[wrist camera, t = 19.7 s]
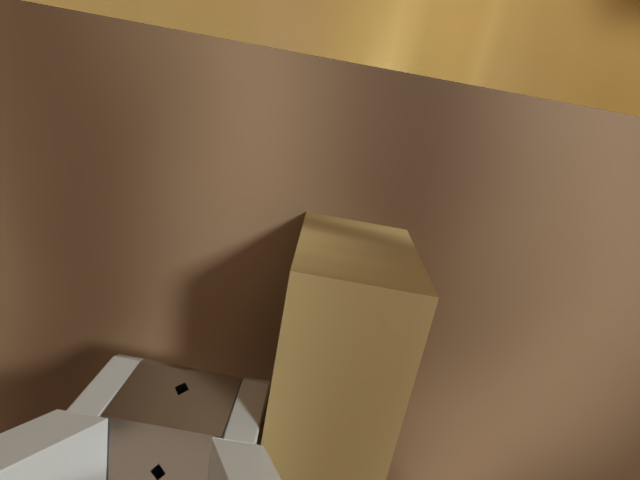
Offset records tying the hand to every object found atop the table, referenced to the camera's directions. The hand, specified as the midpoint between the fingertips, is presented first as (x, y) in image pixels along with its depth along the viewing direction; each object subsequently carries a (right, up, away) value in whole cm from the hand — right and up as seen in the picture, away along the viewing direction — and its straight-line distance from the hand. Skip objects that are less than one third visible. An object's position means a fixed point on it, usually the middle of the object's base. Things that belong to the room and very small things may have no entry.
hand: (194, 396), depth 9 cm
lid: (+3, 0, +2) cm, 4 cm away
